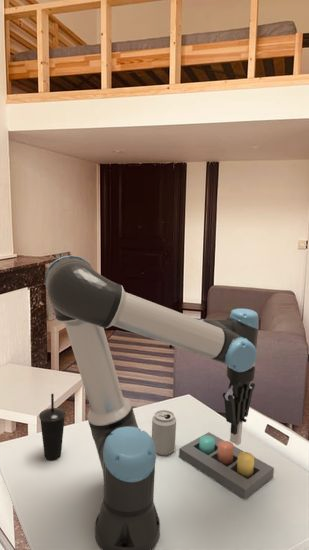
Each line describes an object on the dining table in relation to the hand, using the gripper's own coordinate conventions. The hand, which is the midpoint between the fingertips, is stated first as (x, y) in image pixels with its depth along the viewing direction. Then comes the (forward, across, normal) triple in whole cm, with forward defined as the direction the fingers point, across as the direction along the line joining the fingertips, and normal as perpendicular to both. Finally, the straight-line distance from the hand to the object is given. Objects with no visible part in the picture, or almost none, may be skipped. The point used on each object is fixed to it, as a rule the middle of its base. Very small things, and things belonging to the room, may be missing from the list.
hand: (235, 442), depth 116 cm
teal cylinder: (+8, 0, +10) cm, 13 cm away
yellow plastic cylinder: (+6, 0, -4) cm, 8 cm away
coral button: (+6, 0, +3) cm, 7 cm away
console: (+9, 0, +3) cm, 10 cm away
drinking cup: (+10, -35, +41) cm, 55 cm away
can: (+10, -7, +21) cm, 25 cm away
